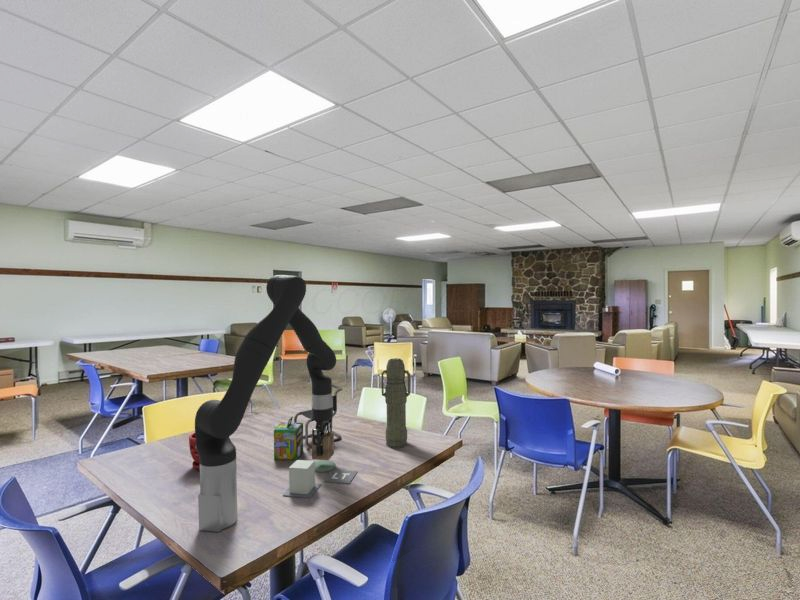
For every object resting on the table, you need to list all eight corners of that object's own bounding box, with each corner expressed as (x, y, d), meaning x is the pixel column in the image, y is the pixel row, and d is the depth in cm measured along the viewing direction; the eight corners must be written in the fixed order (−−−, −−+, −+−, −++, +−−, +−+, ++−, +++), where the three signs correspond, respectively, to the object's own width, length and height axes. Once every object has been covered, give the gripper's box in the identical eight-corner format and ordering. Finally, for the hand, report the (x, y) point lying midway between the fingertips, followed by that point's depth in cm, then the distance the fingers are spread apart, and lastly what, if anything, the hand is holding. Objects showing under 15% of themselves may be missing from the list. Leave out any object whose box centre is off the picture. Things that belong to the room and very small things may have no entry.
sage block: (307, 494, 128) (307, 468, 128) (289, 492, 130) (289, 467, 129) (315, 485, 134) (314, 460, 134) (297, 484, 135) (297, 459, 135)
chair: (344, 439, 177) (343, 388, 177) (306, 448, 167) (305, 394, 167) (330, 431, 188) (330, 382, 188) (294, 439, 178) (293, 388, 177)
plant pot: (236, 459, 157) (235, 428, 157) (211, 474, 144) (211, 440, 144) (207, 456, 161) (206, 425, 160) (181, 470, 148) (180, 437, 148)
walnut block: (328, 460, 146) (327, 437, 146) (312, 459, 147) (311, 436, 147) (334, 453, 152) (333, 432, 152) (318, 452, 153) (318, 431, 153)
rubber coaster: (330, 472, 144) (330, 471, 144) (306, 471, 146) (306, 470, 146) (339, 462, 153) (339, 461, 153) (316, 460, 155) (316, 459, 155)
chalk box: (281, 450, 166) (280, 413, 165) (304, 450, 165) (303, 413, 165) (273, 460, 156) (272, 421, 156) (297, 460, 156) (296, 421, 156)
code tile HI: (310, 498, 127) (310, 497, 127) (282, 495, 128) (282, 494, 128) (321, 484, 136) (321, 483, 136) (295, 482, 137) (295, 481, 137)
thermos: (411, 447, 167) (410, 360, 166) (382, 448, 167) (381, 361, 166) (410, 439, 176) (409, 357, 175) (382, 440, 175) (381, 357, 175)
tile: (349, 483, 136) (349, 482, 136) (323, 481, 138) (323, 480, 138) (357, 472, 145) (357, 471, 145) (332, 470, 146) (332, 469, 146)
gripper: (324, 411, 141) (325, 460, 142) (338, 400, 156) (339, 445, 156) (304, 411, 143) (305, 459, 143) (319, 400, 157) (320, 444, 157)
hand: (323, 451), depth 150 cm, fingers closed on walnut block, 6 cm apart
